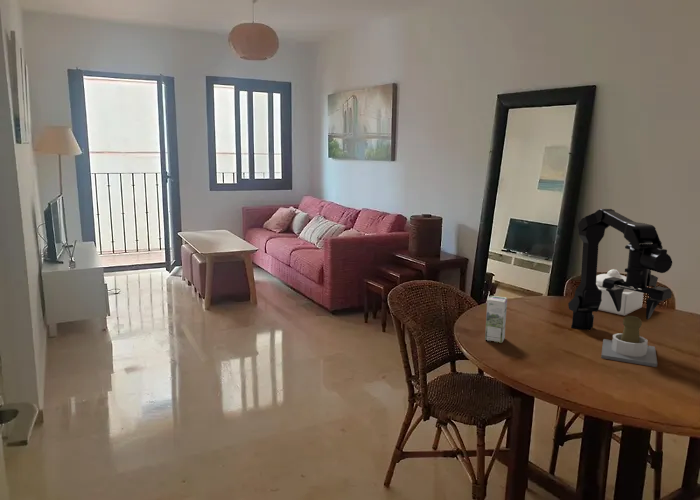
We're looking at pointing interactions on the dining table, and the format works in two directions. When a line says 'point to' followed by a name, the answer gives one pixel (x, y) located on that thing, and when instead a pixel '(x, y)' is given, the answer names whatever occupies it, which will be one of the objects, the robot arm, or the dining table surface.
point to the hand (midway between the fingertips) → (632, 315)
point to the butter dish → (629, 297)
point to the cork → (631, 329)
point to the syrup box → (496, 319)
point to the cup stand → (629, 351)
